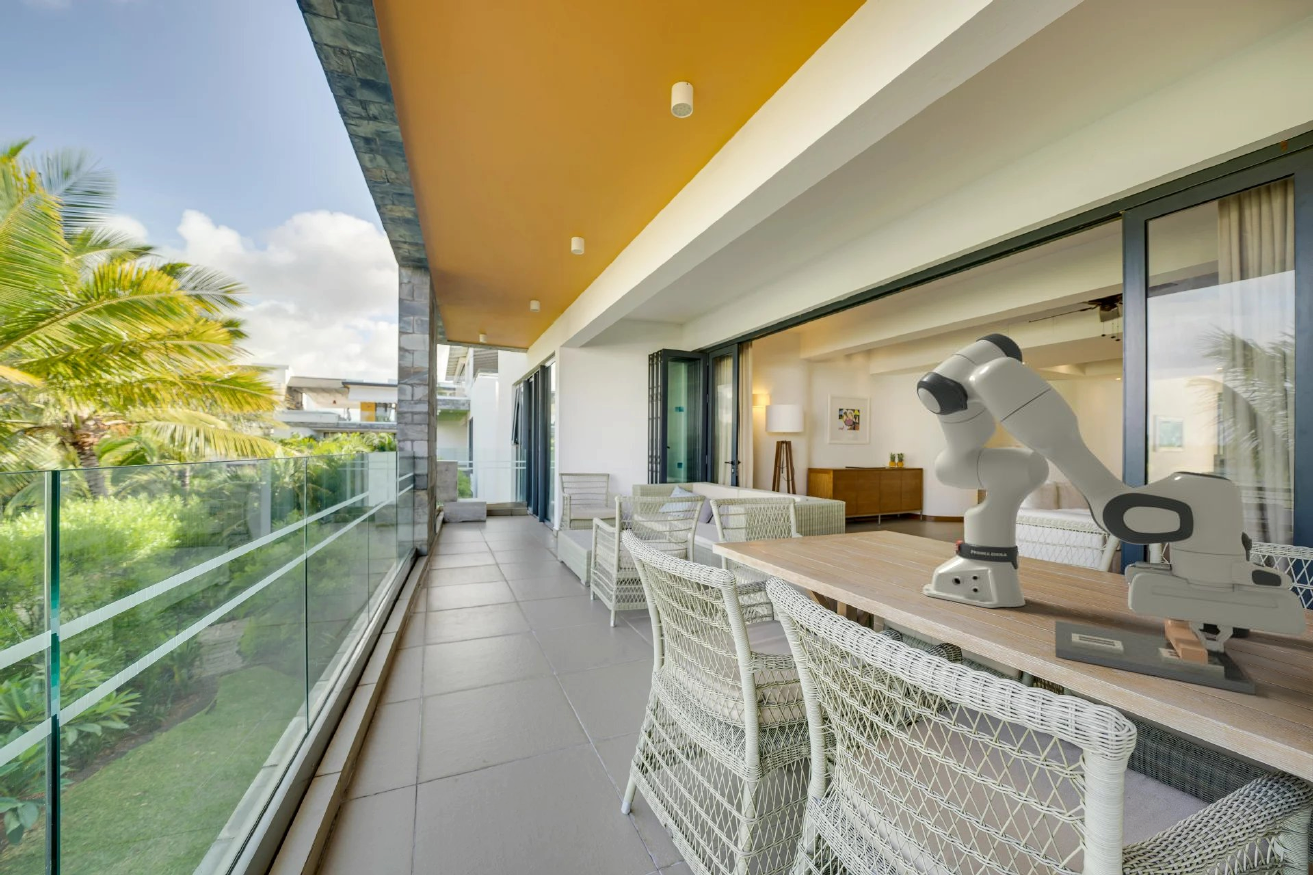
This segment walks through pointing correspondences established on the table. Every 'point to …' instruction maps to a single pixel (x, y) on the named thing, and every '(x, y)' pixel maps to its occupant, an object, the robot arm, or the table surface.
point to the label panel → (1146, 656)
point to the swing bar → (1185, 641)
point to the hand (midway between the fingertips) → (1211, 649)
